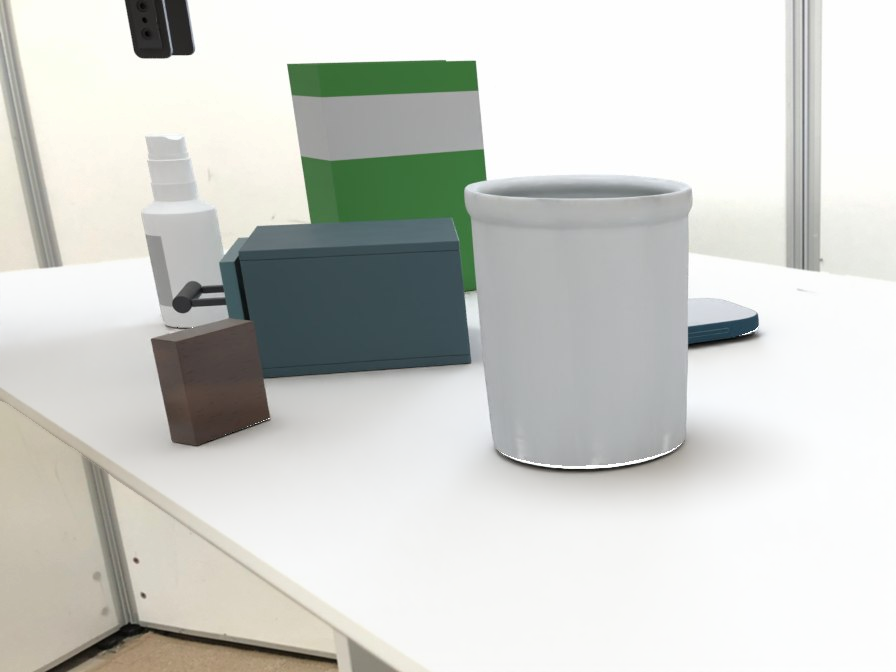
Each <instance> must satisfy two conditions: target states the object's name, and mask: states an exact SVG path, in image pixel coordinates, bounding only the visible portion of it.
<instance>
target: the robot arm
mask: <svg viewBox="0 0 896 672" xmlns="http://www.w3.org/2000/svg"><path fill="white" fill-rule="evenodd" d="M124 5H125V10H126V15H127V21H128V27H129V32H130V38H131V43H132V48H133V53H134V54H135V56H136V57H138V58H139V59H145V60H146V59H148V60H149V59H153V60H154V59H155V60H156V59H158V60H159V59H164V60H165V59H169V58H171V57H172V56H193V55H194V53H195V52H196V44H195V39H194V38H195V37H194V31H193V26H192V21H191V14H190V8H189V1H188V0H124Z"/></svg>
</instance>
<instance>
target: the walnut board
mask: <svg viewBox="0 0 896 672" xmlns="http://www.w3.org/2000/svg"><path fill="white" fill-rule="evenodd" d="M150 343H151V347H152V353H153V358H154V362H155V367H156V372H157V376H158V380H159V386H160V391H161V395H162V400H163V405H164V409H165V415H166V419H167V423H168V424H167V426H168V430H169V434H170V435H169V436H170V439H171V442H173V443H178V444H184V445H190V446H195V445H196V446H195V447H198V446H200V444H201V445H203V444H206V443H208V442H207V441H209V442H211V441H210V440H212V441H214V440H216V439H215V438H217V439H219V438H218V437H220V436H223V437H225V436H226V435H225V434H228V435H230V434H229V433H231V432H234V431H236V432H238V431H237V430H239V431H241V430H240V429H242V428H245V429H247V428H246V427H247V426H250V425H253V424H255V423H258V422H261V421H263V420H266V419H268V418H270V419H271V414H270V408H269V403H268V397H267V391H266V383H265V380H264V379H265V378H263V373H262V367H261V361H260V355H259V350H258V344H257V338H256V332H255V326H254V321H248V320H240V319H231V318H228V319H224V320H220V321H216V322H212V323H208V324H205V325H201V326H197V327H193V328H184V329H182V330H179V331H174V332H170V333H166V334H162V335H159V336H155V337H151V338H150ZM261 423H262V422H261ZM253 426H254V425H253ZM250 427H251V426H250ZM242 430H243V429H242ZM234 433H235V432H234ZM231 434H232V433H231ZM224 435H225V436H224ZM220 438H221V437H220ZM213 439H214V440H213ZM205 442H206V443H205ZM202 443H203V444H202Z"/></svg>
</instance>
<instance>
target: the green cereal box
mask: <svg viewBox="0 0 896 672" xmlns="http://www.w3.org/2000/svg"><path fill="white" fill-rule="evenodd" d="M286 66H287V67H286V68H287V74H288V80H289V87H290V93H291V94H290V95H291V101H292V108H293V114H294V121H295V127H296V134H297V140H298V141H297V142H298V147H299V154H300V160H301V161H300V162H301V168H302V173H303V180H304V181H303V182H304V188H305V195H306V199H307V208H308V214H309V220H310V221H309V222H310V224H313V223H336V222H359V221H382V220H404V219H427V218H450V217H451V218H452V220H453V223H454V226H455V229H456V233H457V236H458V239H459V245H460V255H461V265H462V275H463V285H464V292H469V291H475V290H477V288H476V276H475V264H474V251H473V238H472V225H471V216H470V215H469V213H468V212H467V209H466V206H465V198H464V190H465V187H466V186H468V185H469V184H473V183H477V182H481V181H487V180H488V179H487V170H486V169H487V167H486V166H487V165H486V156H485V145H484V136H483V135H484V134H483V125H482V113H481V103H480V102H481V101H480V90H479V80H478V79H479V78H478V70H477V60H446V59H431V60H430V59H426V60H425V59H424V60H423V59H422V60H388V61H386V60H384V61H347V62H310V63H307V62H306V63H303V62H302V63H286Z"/></svg>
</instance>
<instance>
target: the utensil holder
mask: <svg viewBox="0 0 896 672" xmlns="http://www.w3.org/2000/svg"><path fill="white" fill-rule="evenodd" d="M464 198H465V206H466V209H467V212H468V213H469V215H470V216H471V225H472V238H473V251H474V264H475V276H476V288H477V289H476V297H477V299H476V300H477V307H478V308H477V309H478V318H479V319H478V320H479V330H480V331H479V333H480V338H481V339H480V341H481V353H482V362H483V372H484V381H485V390H486V396H487V407H488V413H489V424H490V431H491V438H492V443H493V446H494V448H495V447H496V448H495V450H496V449H497V450H499V451H500V452H502V453H504V454H506V455H508V456H511V457H514V458H517V459H521V460H526V461H530V462H534V463H541V464H550V465H562V466H586V465H608V464H616V463H625V462H629V461H634V460H639V459H644V458H647V457H652V456H655V455H658V454H661V453H665V452H667V451H670V450H672V449H673V448H676V447H677V446H678V445H680V444H681V443H682V442H683V441H684V439H685V440H686V436H687V410H688V409H687V407H688V372H689V371H688V370H689V344H688V299H689V254H690V253H689V249H690V248H689V247H690V245H689V244H690V240H689V238H690V237H689V236H690V235H689V234H690V232H689V231H690V230H689V229H690V228H689V215H690V212H691V210H692V208H693V202H694V201H693V188H692V187H691V185H689V184H687V183H685V182H682V181H679V180H673V179H665V178H658V177H651V176H641V175H628V174H627V175H626V174H625V175H624V174H557V175H556V174H552V175H551V174H547V175H530V176H515V177H505V178H497V179H496V178H495V179H487V181H481V182H477V183H473V184H469V185H468V186H466V187H465V190H464ZM684 442H685V441H684ZM684 442H683V443H684ZM497 450H496V451H497ZM500 452H499V453H500Z"/></svg>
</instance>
